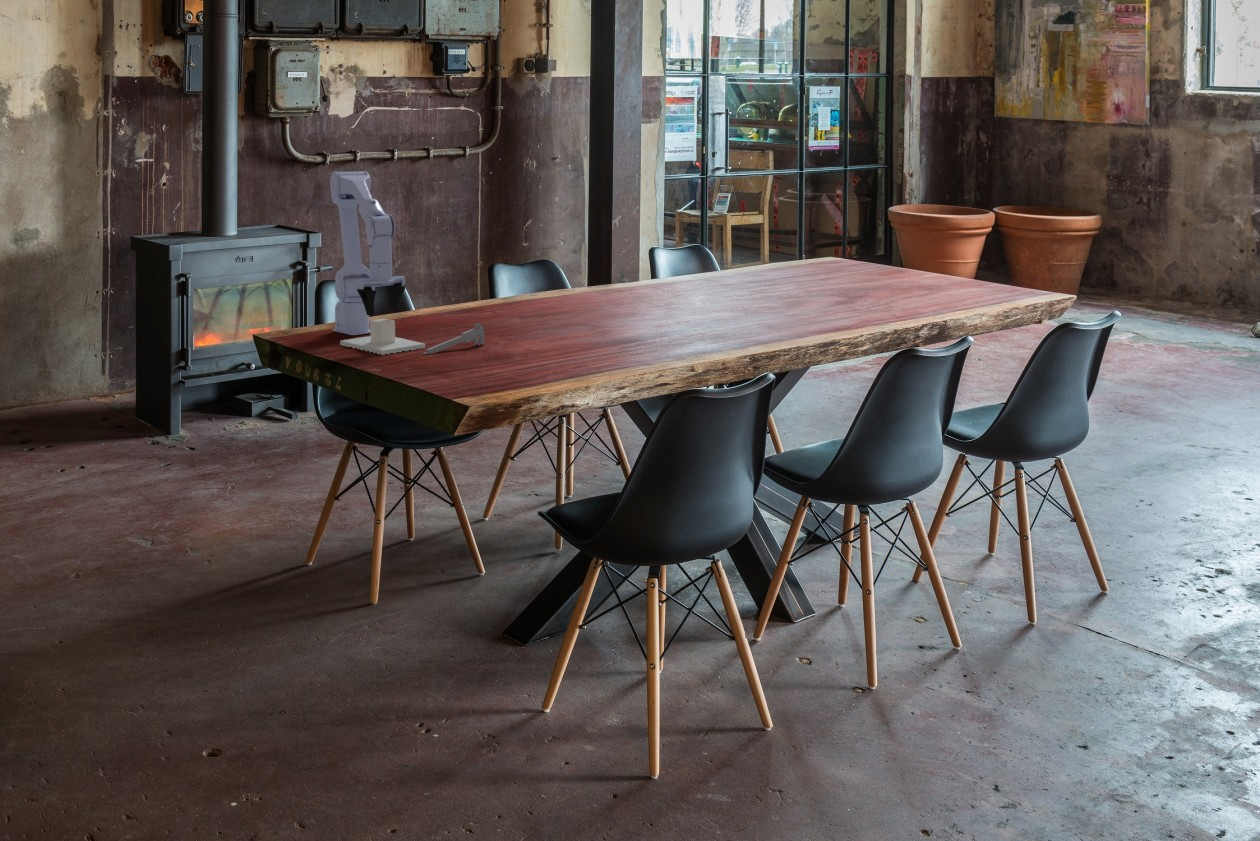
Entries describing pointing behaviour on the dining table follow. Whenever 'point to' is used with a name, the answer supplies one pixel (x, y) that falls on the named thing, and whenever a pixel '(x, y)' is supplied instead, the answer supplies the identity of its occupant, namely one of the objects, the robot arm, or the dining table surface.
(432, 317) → the dining table surface
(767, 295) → the dining table surface
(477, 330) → the caliper
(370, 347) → the light gray slab
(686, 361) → the dining table surface
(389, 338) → the cream rectangular prism
